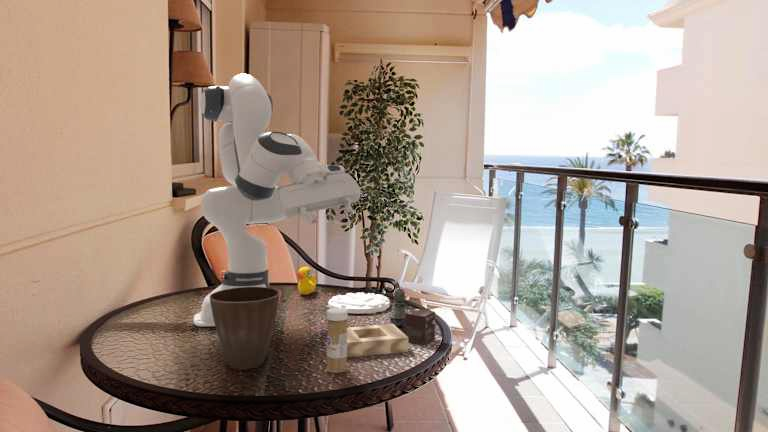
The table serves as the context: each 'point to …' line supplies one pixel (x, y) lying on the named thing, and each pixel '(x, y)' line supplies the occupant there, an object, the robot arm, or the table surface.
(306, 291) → the duckling
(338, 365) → the sprinkles bottle
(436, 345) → the table surface
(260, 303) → the plant pot
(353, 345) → the holder
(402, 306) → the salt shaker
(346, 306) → the embossed medallion
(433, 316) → the box
